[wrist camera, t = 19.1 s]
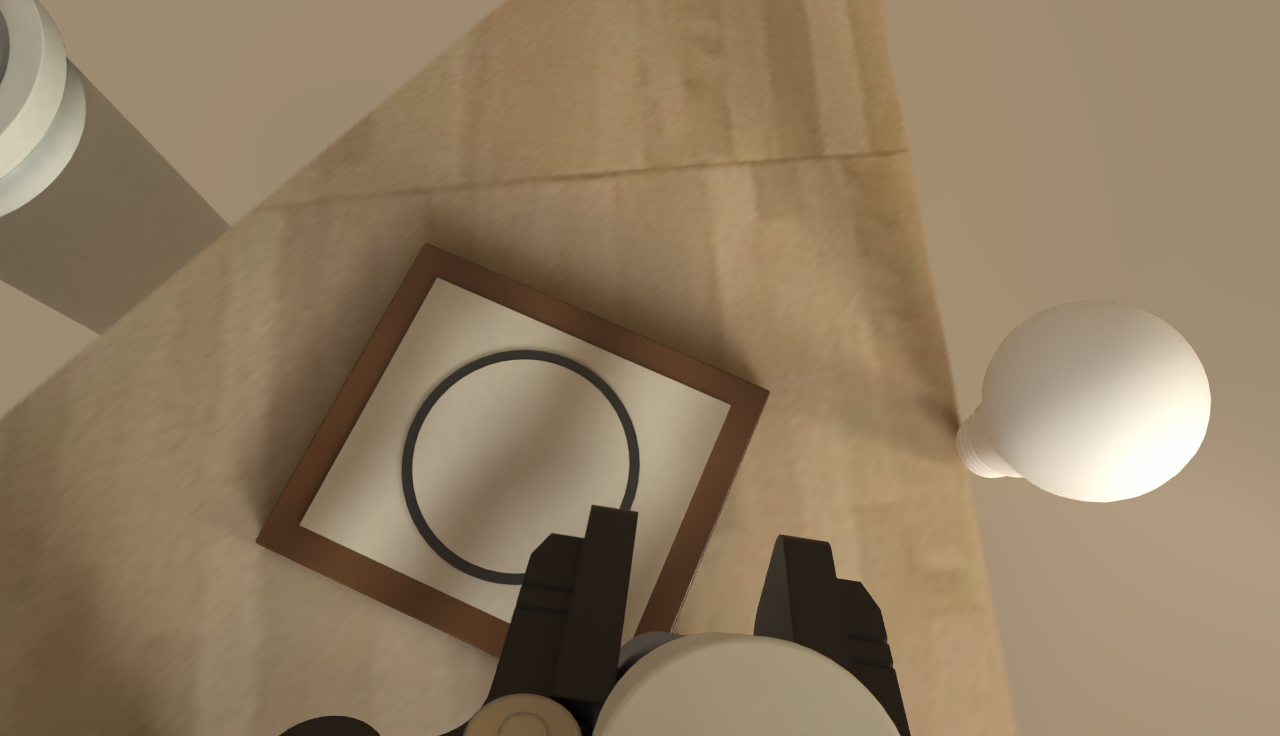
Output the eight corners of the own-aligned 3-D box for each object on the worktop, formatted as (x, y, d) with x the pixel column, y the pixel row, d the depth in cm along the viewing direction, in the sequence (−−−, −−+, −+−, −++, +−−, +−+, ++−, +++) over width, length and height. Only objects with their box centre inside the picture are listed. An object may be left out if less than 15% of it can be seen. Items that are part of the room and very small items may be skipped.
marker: (580, 719, 17) (520, 925, 6) (628, 607, 18) (664, 581, 6) (689, 770, 17) (860, 1093, 5) (733, 655, 17) (969, 719, 6)
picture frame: (264, 544, 31) (250, 541, 30) (429, 251, 35) (423, 238, 33) (634, 718, 30) (635, 723, 29) (766, 397, 33) (772, 389, 32)
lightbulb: (934, 546, 32) (1095, 512, 21) (880, 396, 34) (1006, 296, 23) (1079, 504, 33) (1304, 452, 22) (1019, 359, 34) (1203, 246, 24)
